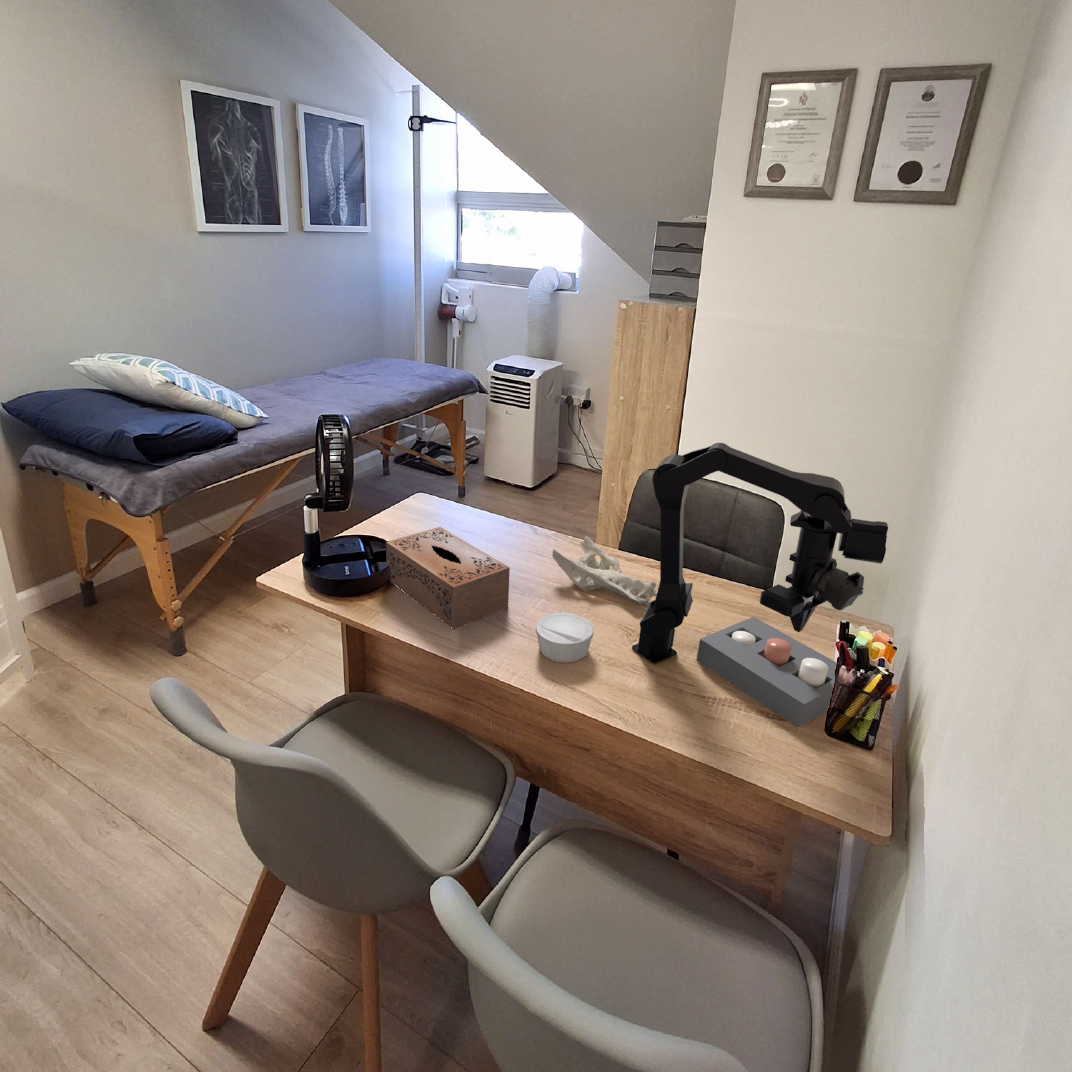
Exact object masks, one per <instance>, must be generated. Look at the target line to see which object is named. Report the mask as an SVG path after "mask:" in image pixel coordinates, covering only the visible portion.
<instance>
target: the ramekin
mask: <svg viewBox="0 0 1072 1072" xmlns="http://www.w3.org/2000/svg"><path fill="white" fill-rule="evenodd" d="M594 630H595V629H594V626H593V624H592V623H591V621H589V620H588V619H587V618H585V617H583V616H581V615H579V614H575V613H571V612H554V613H550V614H547V615H544V616H543V617H542V618H540V619H539V620H538V621H537V623H536V625H535V633H536V636H537V637H536V638H537V643H538V647H539V650H540V652H541V654H542V655H543V656H544V657H545V658H547V659H548V660H550V661H553V662H557V663H564V664H566V663H568V664H569V663H574V662H578V661H579V660H582V659H583V658H584V657H585V656H586V655H587V653H588V651H589V649H590V645H591V641H592V639H593V637H594V633H595V631H594Z"/></svg>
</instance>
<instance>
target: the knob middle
mask: <svg viewBox="0 0 1072 1072" xmlns="http://www.w3.org/2000/svg"><path fill="white" fill-rule="evenodd" d="M791 648H792V646H791V644H790V643H789V642H787V641H785V640H783V639H779V638H770V639H768V640H767V643H766V647H765V652H764V653H763V656H762V657H764V658H765V659H767V660H769V661H770V662H772V663H774V664H775V665H777V666H779V667H780V666H782V665H784V664H786V663H788V661H789V657H790V653H791Z"/></svg>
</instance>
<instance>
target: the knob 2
mask: <svg viewBox="0 0 1072 1072" xmlns="http://www.w3.org/2000/svg"><path fill="white" fill-rule="evenodd" d="M827 672H828V666H827V665H826V664H825V663H824V662H823V661H821V660H818V659H815V658H805V659H803V660H802V663H801V667H800V671H799V674H797V678H799V679H800V680H802V681H804V682H805V683H807V684H809V685H810V686H812V687H814V688H815V689H817V688H819V687H820V686H822V685H824V683H825V679H826V675H827Z"/></svg>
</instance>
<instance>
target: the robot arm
mask: <svg viewBox="0 0 1072 1072" xmlns="http://www.w3.org/2000/svg"><path fill="white" fill-rule="evenodd" d="M716 472H720V473H722V474H725V475H728V476H730V477H732V478H735V479H738V480H741V481H743V482H746V483H747V484H750V485H753V486H756V487H757V488H761V489H764V490H765V491H768V492H770V493H773V494H776V495H778V496H781V497H783V498H784V499H787V500H788V501H789V502H790V503H792V504H793V505H794V506H795V507H796V508H797V509H799V511H798V512H797V513H794V514H792V515H790V521H789V525H790V526H791V527H796V528H800V530H799V535H798V541H797V546H796V550H795V552H793V553H791V554H790V555H789V561H791V562H793V565H792V571H791V573H789V574H787V575H786V576H785V581H784V582H785V583H789V584H791V586H789V587H786V586H783V585H781V584H779V583H778V584H777V585H773V586H772V587H769V588H766V589H765V590H763V591H760V598H759V604H760V605H763V606H764V607H766V608H767V609H770V610H773V611H775V612H776V613H777V614H778V613H779V614H781V615H782V616H784V617H788V618H789V619H790V623H791V624H792V625H791V626H792V628H793V630H794V631H796V632H798V633H800V632H802V631H803V629H804V628H805V626H806V624H807V623H808V622H809V620H810V618H811V616H812V614H813V613H814V611H815V610H816V608H817V607H818V606H820V605H822V604H824V603H826V602H828V603H829V604H830V605H831V607H832V608H834V610H837V611H842V610H844V609H846V608H848V607H851V606H852V605H853V604H854V602H855V601H856V600H857V599H858V597H860V596H861V595H863V594H864V591H863V590H864V589H865V587H864V581H865V576H864V575H862V574H861V573H860V572H857V571H856V572H853V573H851V574H849V573H848V572H847V571H845V570H842V569H840V568H837V566H838V562H837V559H835V558H834V557H833V553H834V549H835V545H836V544H835V543H836V540H837V536H838V534H840V536H839V540H838V544H837V545H838V548H837V551H838V552H842V554H841V556H843V558H844V559H847V560H848V559H849V560H856V561H861V562H867V563H868V562H869V563H873V564H880V565H881V564H883V561H884V560H885V557H886V552H887V547H886V545H887V538H888V536H887V535H888V530H889V525H888V523H887V522H886V521H871V520H864V519H859V518H852V513H851V509H849V508H848V505H847V504H846V500H845V498H846V497H845V489H844V486H843V485H842V482H841V481H839V480H838V479H836V477H835V478H834V477H831V476H827V475H824V474H823V475H822V474H818V473H817V474H816V473H814V472H810V473H809V472H797V471H793V470H790V469H789V468H785V467H783V466H780V465H777V464H774V463H773V462H769V461H767V460H764V459H762V458H759V457H756V456H754V455H752V454H749V453H746V452H743V451H741V450H739V449H737V448H733V447H731V446H729V445H727V444H726V443H724V442H715V443H713V444H712V445H710V446H706V447H702V448H700V449H696V450H692V451H689V452H687V453H685V454H683V455H681V454H675V453H674V454H669V455H668V456H666V457H664V459H663V460H662V461H661V462H660V463H659V464H658V466H657V467H656V469H655V470H654V471H653V474H652V480H651V481H652V486H653V491H654V497H655V500H656V502H657V506H658V507H659V511H660V513H659V514H660V515H659V517H660V523H659V524H660V528H659V529H660V532H659V535H660V537H659V538H660V546H659V549H660V552H659V553H660V554H659V557H660V563H659V565H660V570H659V573H660V574H659V575H660V577H659V579H660V580H659V585H658V589H657V595H656V596H655V599H653V600H652V601H649V605H648V606H646V610H645V611H644V613H643V616H642V618H641V620H640V622H639V627H640V631H639V637H638V643H636V644H633V645H631V646H632V647H631V649H632V650H633V651H635V652H636V653H638V654H639V655H640V656H641V657H643V658H645V659H646V660H647V661H649V662H650V663H652V664H659V663H660V662H662V661H665V660H667V659H670V658H672V657H674V656H677V654H678V651H677V650H675V649H674V648H673V646H674V638H675V634H676V629H675V628H678V627H679V626H681V625H682V624H683V621H684V619H685V618H687V617H688V616H689V612H690V610H691V607H692V605H693V601H694V600H693V599H694V598H693V597H692V590H693V585H694V583H693V582H687V583H686V580H685V578H684V575H683V573H684V571H683V569H684V568H683V567H684V517H685V515H684V514H685V513H684V511H685V509H684V507H685V502H686V499H687V495H688V490H689V487H690V485H691V484H693V483H695V482H697V481H699V480H701V479H703V478H705V477H707V476H710V475H711V474H714V473H716Z"/></svg>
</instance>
